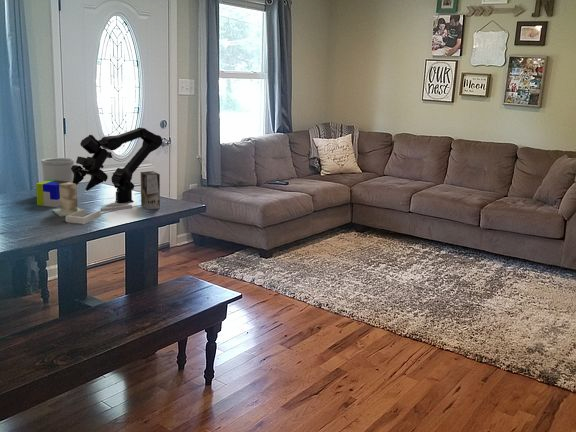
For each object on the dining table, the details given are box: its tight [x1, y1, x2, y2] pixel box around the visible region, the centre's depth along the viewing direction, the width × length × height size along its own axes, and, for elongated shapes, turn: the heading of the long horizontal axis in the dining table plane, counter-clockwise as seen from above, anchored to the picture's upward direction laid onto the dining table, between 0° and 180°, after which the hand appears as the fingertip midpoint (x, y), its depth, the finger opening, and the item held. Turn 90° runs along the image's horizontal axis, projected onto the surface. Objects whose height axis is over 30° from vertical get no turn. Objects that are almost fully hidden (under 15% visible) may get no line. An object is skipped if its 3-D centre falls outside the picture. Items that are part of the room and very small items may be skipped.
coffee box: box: [140, 170, 161, 210], centre depth 273 cm, size 9×6×16 cm
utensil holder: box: [40, 157, 75, 183], centre depth 289 cm, size 15×15×18 cm
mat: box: [51, 207, 83, 217], centre depth 260 cm, size 11×11×1 cm
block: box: [59, 182, 79, 213], centre depth 258 cm, size 5×5×12 cm
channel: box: [64, 208, 102, 225], centre depth 249 cm, size 13×8×2 cm, turn 168°
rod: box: [100, 204, 133, 212], centre depth 268 cm, size 14×2×2 cm, turn 127°
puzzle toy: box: [35, 180, 68, 208], centre depth 272 cm, size 10×10×10 cm
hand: (79, 188), depth 262 cm, fingers open, 9 cm apart
